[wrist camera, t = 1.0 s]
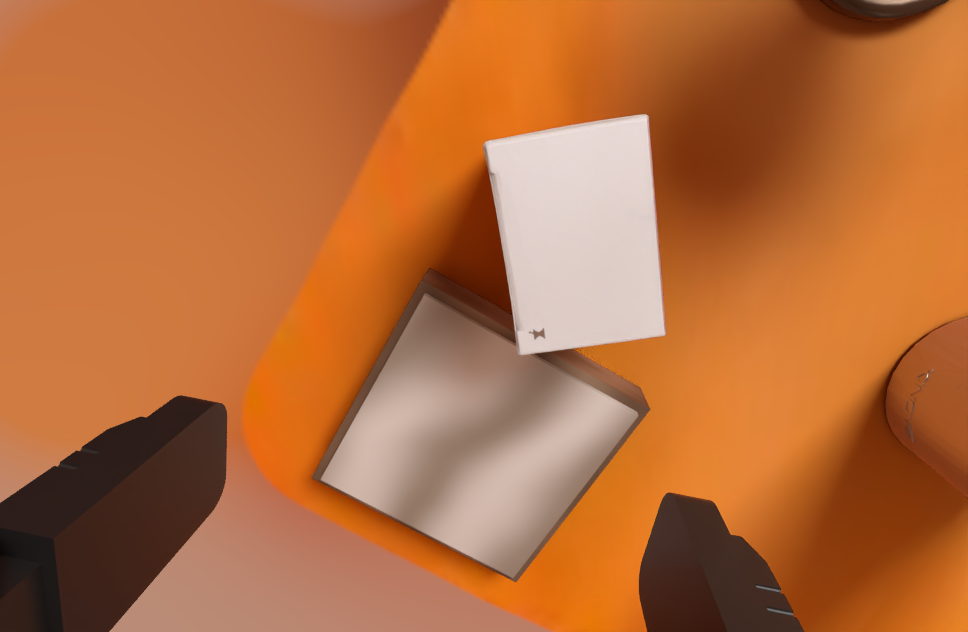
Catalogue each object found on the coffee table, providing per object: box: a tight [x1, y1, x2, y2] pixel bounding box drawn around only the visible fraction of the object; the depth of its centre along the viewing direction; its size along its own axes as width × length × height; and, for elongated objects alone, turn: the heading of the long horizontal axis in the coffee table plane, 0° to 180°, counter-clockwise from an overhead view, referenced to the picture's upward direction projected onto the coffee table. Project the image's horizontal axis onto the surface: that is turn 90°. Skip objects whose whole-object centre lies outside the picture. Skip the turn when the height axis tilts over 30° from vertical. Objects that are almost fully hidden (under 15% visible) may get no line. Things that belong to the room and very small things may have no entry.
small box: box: [483, 114, 666, 355], centre depth 24 cm, size 8×6×10 cm
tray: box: [312, 268, 650, 582], centre depth 32 cm, size 14×14×3 cm
